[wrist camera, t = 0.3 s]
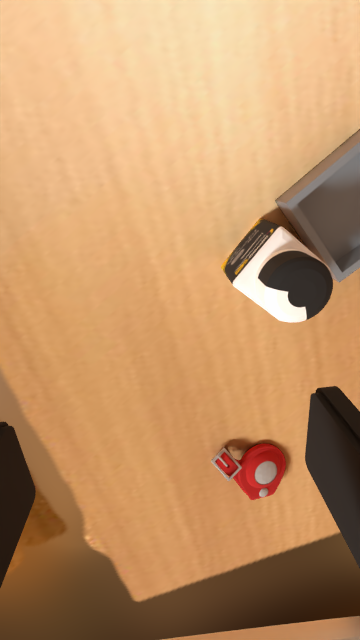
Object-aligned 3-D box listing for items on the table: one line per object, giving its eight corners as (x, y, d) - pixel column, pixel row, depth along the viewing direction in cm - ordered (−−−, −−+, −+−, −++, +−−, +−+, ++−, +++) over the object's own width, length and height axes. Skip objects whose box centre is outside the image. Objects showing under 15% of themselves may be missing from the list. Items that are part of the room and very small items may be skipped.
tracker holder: (290, 442, 50) (290, 500, 51) (274, 428, 54) (274, 482, 56) (216, 459, 46) (218, 521, 48) (205, 443, 50) (207, 500, 52)
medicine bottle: (260, 216, 37) (303, 233, 26) (303, 254, 39) (360, 285, 28) (219, 266, 39) (243, 302, 28) (262, 299, 41) (301, 345, 30)
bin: (363, 125, 34) (385, 120, 31) (407, 211, 38) (430, 214, 34) (274, 200, 36) (286, 203, 33) (324, 273, 40) (339, 282, 37)
